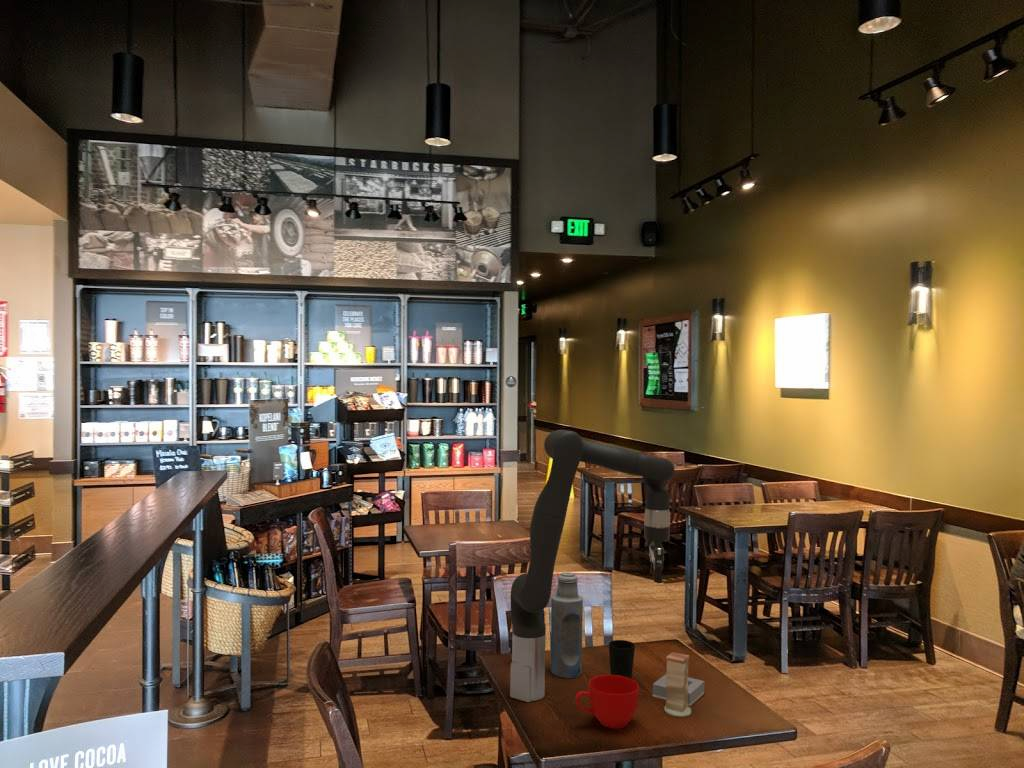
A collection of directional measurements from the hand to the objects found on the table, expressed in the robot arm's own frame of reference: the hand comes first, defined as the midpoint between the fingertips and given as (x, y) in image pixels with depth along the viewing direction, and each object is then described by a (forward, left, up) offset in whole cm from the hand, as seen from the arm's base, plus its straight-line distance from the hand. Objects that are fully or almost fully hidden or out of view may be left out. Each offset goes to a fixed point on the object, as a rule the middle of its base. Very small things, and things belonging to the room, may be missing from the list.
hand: (656, 578), depth 221 cm
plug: (-16, -13, -30) cm, 36 cm away
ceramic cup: (-35, -2, -30) cm, 46 cm away
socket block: (-6, -10, -30) cm, 32 cm away
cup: (-10, +6, -30) cm, 32 cm away
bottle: (-11, +24, -30) cm, 40 cm away
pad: (-17, -14, -30) cm, 37 cm away
